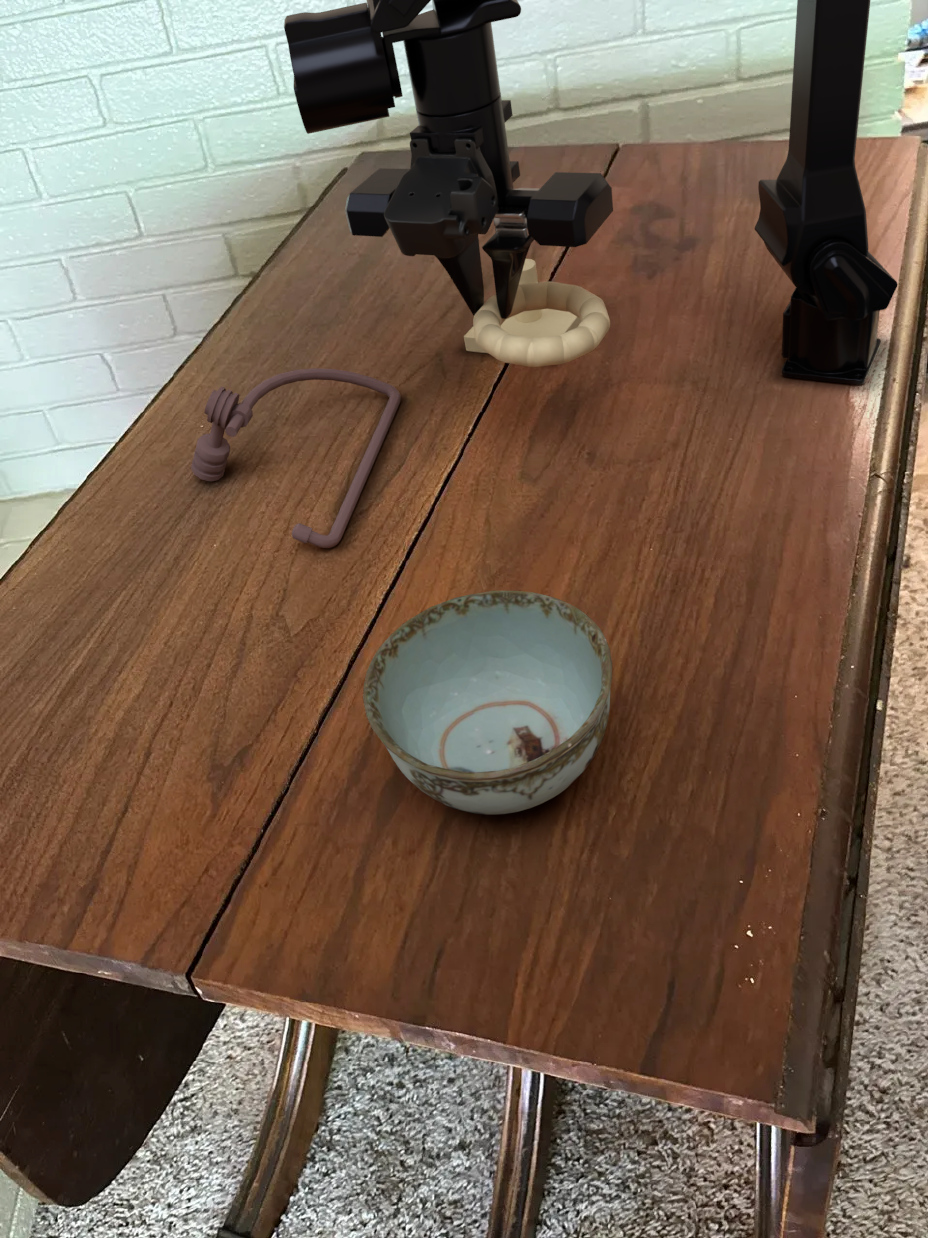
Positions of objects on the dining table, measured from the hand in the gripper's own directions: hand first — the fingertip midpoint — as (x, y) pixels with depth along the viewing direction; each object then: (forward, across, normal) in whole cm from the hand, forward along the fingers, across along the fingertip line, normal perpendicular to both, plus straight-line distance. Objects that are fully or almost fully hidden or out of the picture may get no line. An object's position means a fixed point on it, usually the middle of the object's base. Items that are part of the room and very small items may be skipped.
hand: (492, 315), depth 82 cm
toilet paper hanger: (+10, -16, -10) cm, 21 cm away
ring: (0, +4, 0) cm, 4 cm away
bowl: (+10, +15, -33) cm, 37 cm away
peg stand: (+10, -5, +15) cm, 18 cm away
